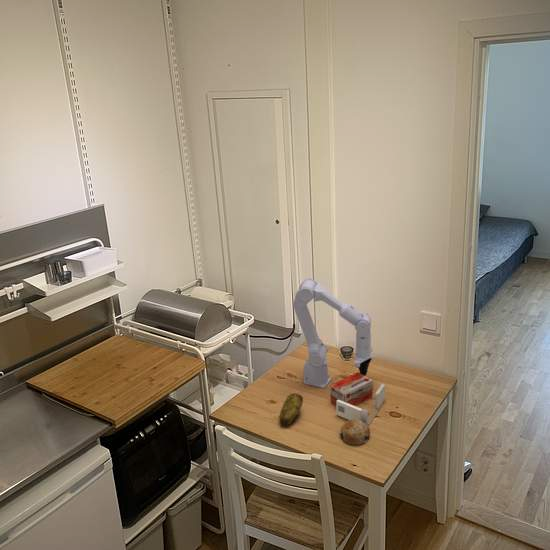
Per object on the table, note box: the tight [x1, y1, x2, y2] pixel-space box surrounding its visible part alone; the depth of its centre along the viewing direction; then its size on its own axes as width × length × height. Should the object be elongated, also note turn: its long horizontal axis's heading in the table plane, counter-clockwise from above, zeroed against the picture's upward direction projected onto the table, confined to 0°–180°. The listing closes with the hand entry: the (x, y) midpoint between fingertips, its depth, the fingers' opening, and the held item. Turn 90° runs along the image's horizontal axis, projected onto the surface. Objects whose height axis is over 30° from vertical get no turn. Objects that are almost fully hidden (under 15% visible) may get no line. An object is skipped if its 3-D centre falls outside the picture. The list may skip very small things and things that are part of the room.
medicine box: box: [330, 371, 374, 407], centre depth 224 cm, size 15×8×8 cm, turn 126°
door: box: [335, 400, 363, 421], centre depth 212 cm, size 1×11×6 cm, turn 48°
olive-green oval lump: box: [279, 393, 304, 426], centre depth 215 cm, size 8×13×8 cm, turn 136°
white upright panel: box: [362, 383, 386, 427], centre depth 215 cm, size 2×21×7 cm, turn 151°
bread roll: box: [338, 420, 371, 446], centre depth 203 cm, size 10×10×8 cm
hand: (363, 374), depth 233 cm, fingers closed
